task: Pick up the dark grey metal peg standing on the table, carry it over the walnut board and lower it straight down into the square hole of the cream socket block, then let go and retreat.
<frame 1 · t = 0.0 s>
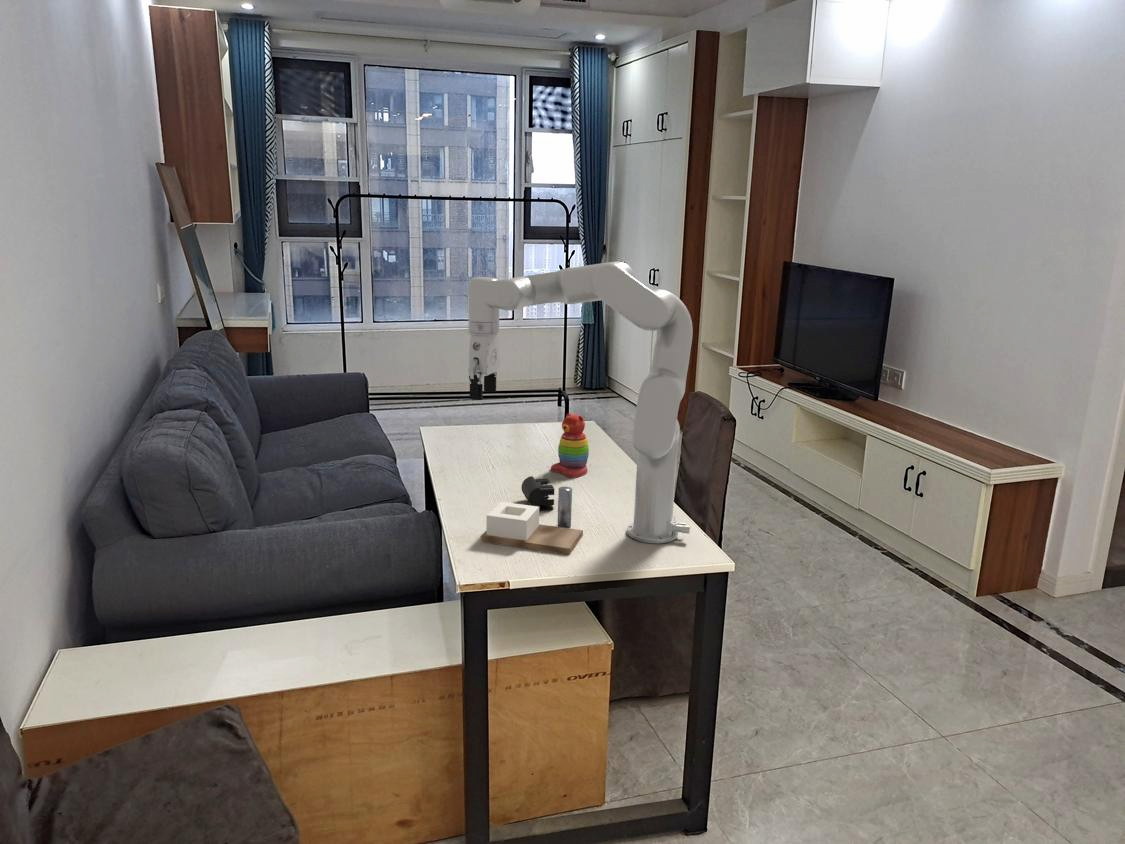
hand: (483, 395, 210), 31 cm above the table, tool pointing down, fingers open, 9 cm apart
peg: (564, 526, 209), on the table
socket: (512, 536, 202), resting on board
stacking bear: (571, 471, 254), on the table
board: (532, 538, 201), on the table
end cap: (537, 506, 224), on the table
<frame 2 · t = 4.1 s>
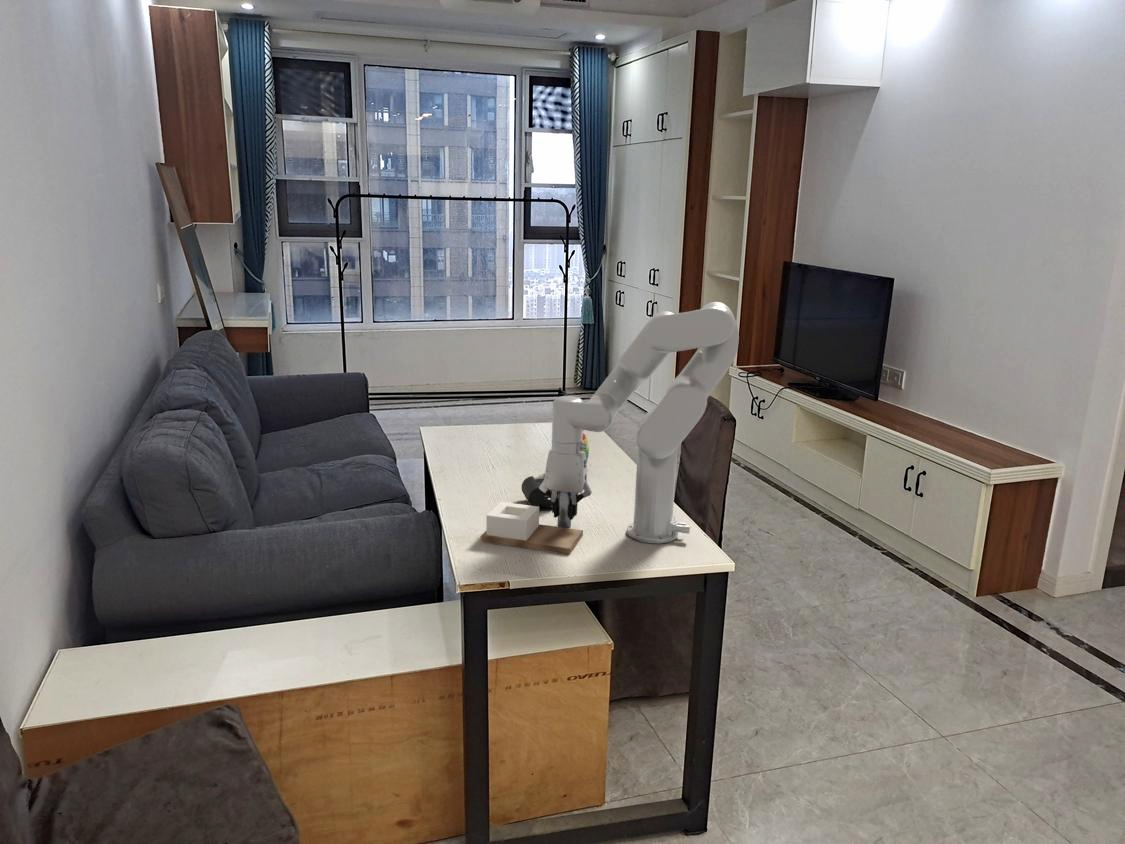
hand: (564, 516, 209), 3 cm above the table, tool pointing down, fingers closed on peg, 3 cm apart
peg: (564, 526, 209), on the table, touching gripper
everything else where it was.
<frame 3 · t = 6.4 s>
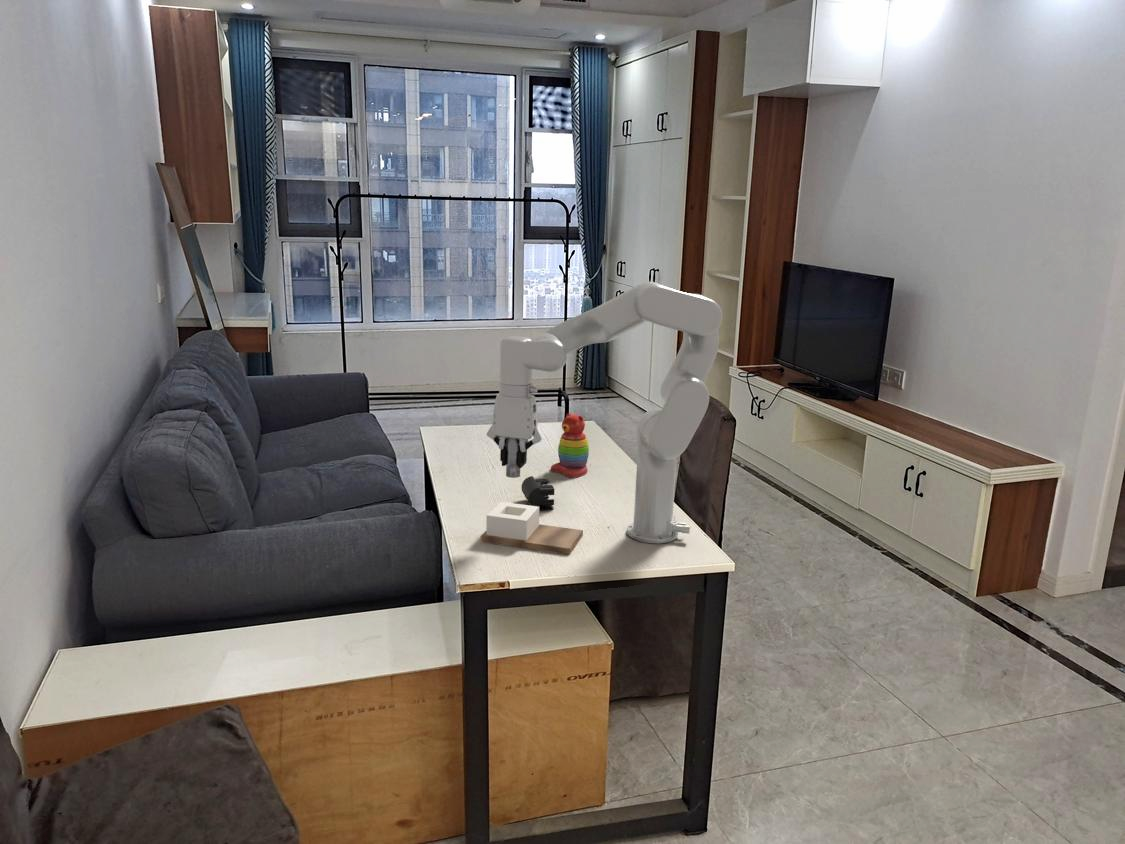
hand: (513, 464, 198), 18 cm above the table, tool pointing down, fingers closed on peg, 3 cm apart
peg: (513, 475, 198), point 15 cm above the table, touching gripper
everything else where it was.
when the fingers open (7 cm above the table, at t = 8.7 s): peg drops 2 cm, resting on board.
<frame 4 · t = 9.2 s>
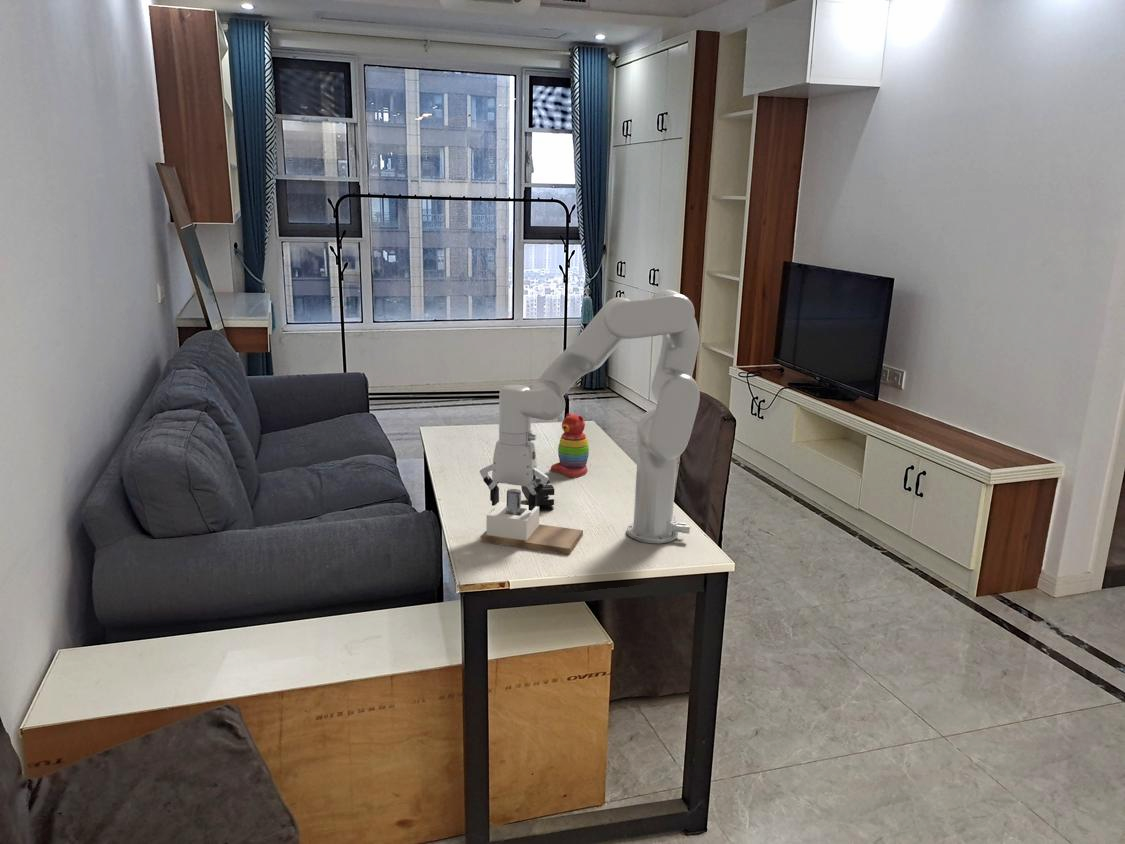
hand: (513, 506, 200), 8 cm above the table, tool pointing down, fingers open, 9 cm apart
peg: (512, 530, 202), point 2 cm above the table, touching board
everything else where it was.
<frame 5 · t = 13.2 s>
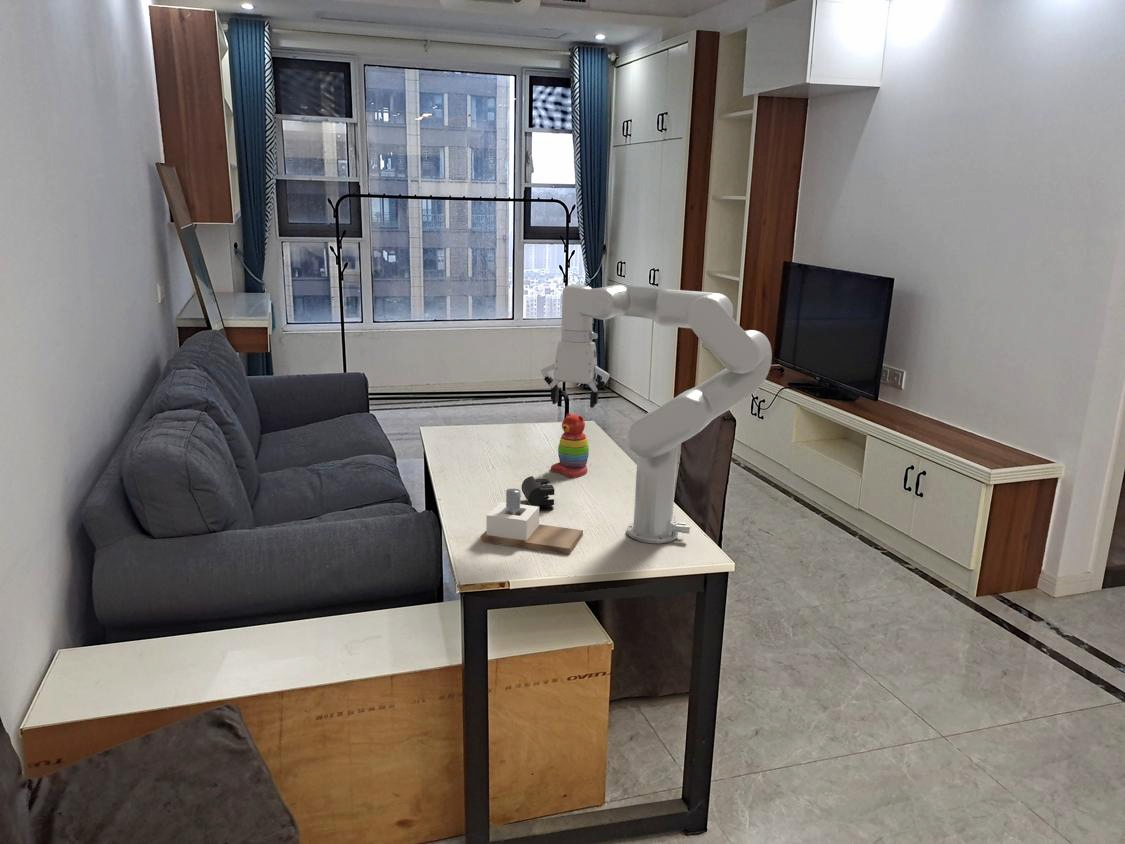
hand: (573, 404, 207), 30 cm above the table, tool pointing down, fingers open, 9 cm apart
nothing on the table moved.
at the end: peg 0.0 cm off-centre on the socket, point 1.5 cm above the socket's base; peg tilted 1°; the gripper is holding nothing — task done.
